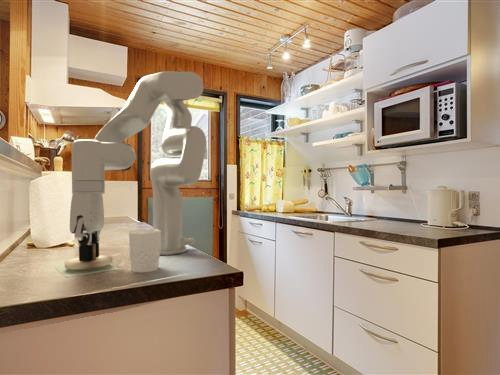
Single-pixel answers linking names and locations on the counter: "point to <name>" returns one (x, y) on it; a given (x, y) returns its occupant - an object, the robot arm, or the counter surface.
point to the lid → (95, 263)
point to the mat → (84, 270)
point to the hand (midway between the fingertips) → (89, 258)
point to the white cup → (144, 250)
